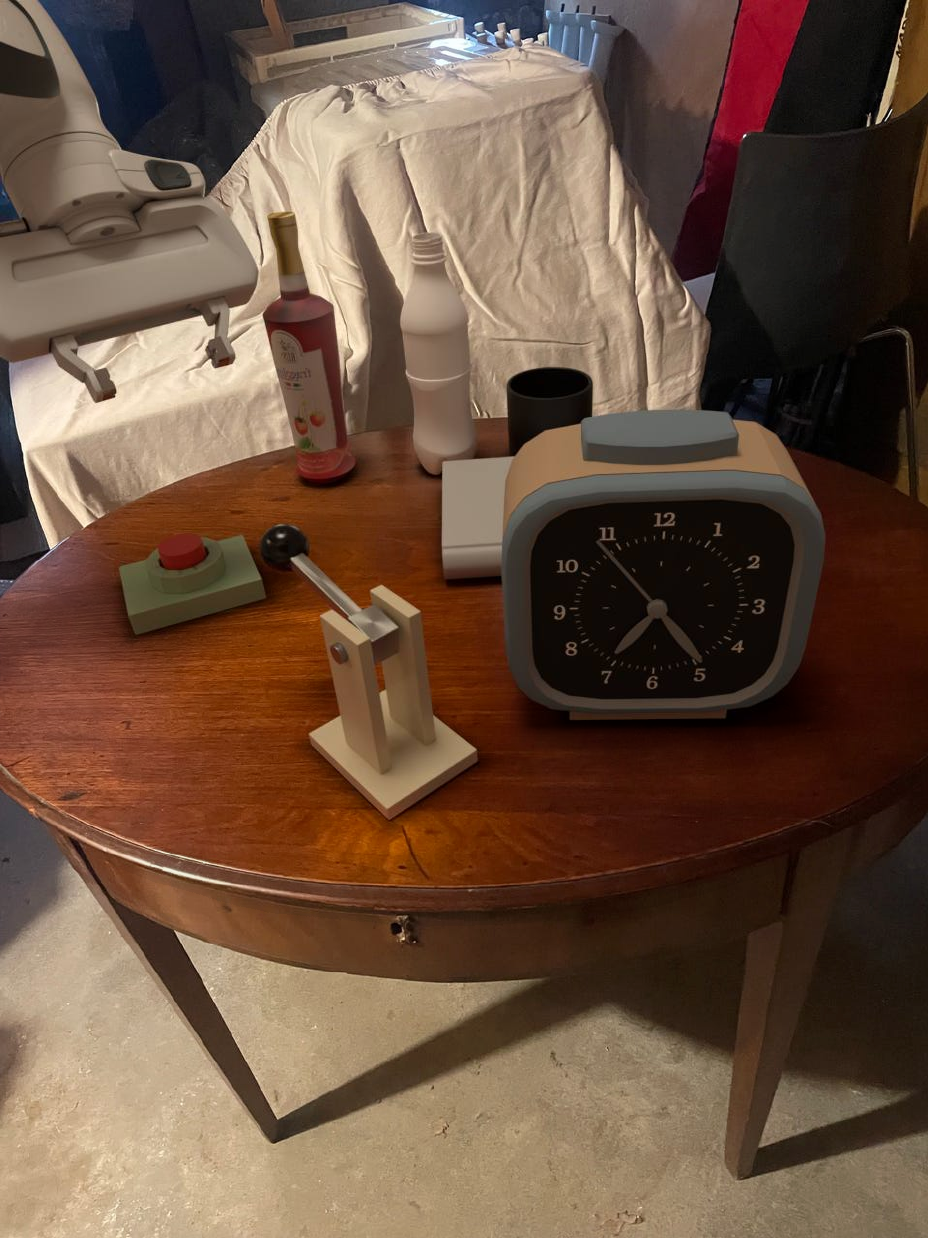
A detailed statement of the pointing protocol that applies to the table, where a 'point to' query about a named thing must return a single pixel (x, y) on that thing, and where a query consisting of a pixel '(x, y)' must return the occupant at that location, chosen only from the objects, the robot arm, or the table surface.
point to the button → (182, 551)
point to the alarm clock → (657, 566)
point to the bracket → (387, 714)
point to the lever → (327, 587)
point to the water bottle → (437, 359)
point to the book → (473, 516)
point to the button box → (190, 586)
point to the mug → (546, 402)
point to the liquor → (307, 362)
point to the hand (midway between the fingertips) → (168, 380)
